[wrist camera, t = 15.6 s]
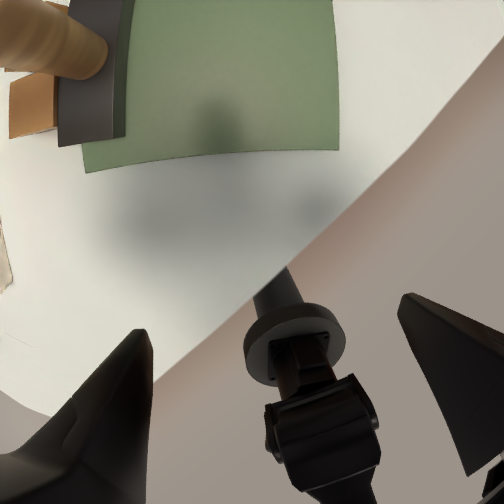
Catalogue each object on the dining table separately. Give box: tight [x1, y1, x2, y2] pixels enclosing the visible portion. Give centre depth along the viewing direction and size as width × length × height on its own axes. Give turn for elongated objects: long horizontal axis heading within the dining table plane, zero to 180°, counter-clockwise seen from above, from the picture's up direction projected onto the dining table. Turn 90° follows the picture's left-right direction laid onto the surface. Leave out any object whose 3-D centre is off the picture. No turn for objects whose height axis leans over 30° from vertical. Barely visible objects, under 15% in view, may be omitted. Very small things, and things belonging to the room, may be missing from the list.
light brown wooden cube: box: [9, 72, 59, 139], centre depth 13 cm, size 4×4×4 cm
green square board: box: [82, 0, 339, 173], centre depth 14 cm, size 16×18×1 cm
